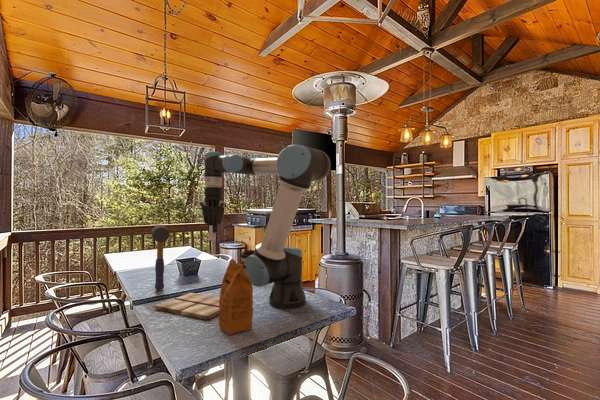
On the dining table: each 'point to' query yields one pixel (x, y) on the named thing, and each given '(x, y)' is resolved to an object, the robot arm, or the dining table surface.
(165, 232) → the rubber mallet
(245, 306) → the coffee package
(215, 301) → the wooden board
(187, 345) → the dining table surface
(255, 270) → the robot arm
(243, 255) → the coffee cup
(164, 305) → the plank
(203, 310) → the plank
